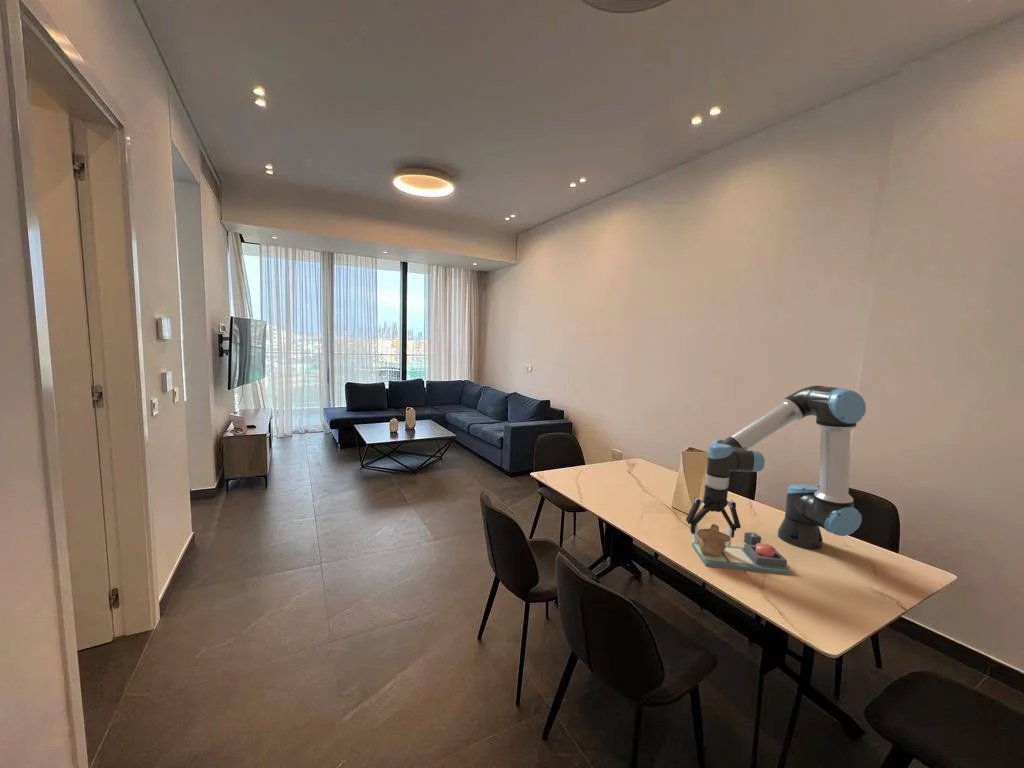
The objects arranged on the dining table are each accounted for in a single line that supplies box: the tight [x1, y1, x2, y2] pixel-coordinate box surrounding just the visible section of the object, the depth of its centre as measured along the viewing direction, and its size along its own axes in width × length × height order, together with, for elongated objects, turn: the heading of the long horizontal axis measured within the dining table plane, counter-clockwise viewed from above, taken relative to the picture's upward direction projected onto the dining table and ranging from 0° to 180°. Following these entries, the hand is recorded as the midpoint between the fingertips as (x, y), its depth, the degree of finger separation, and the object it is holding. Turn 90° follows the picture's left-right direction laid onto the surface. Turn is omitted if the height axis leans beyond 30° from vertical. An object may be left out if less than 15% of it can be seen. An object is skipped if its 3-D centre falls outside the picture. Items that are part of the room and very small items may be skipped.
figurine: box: [697, 523, 730, 556], centre depth 151 cm, size 11×9×15 cm
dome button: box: [755, 542, 776, 557], centre depth 150 cm, size 6×6×4 cm
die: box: [743, 531, 762, 545], centre depth 163 cm, size 4×4×4 cm
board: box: [691, 542, 791, 575], centre depth 151 cm, size 28×15×4 cm, turn 83°
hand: (710, 543), depth 152 cm, fingers closed on figurine, 11 cm apart
